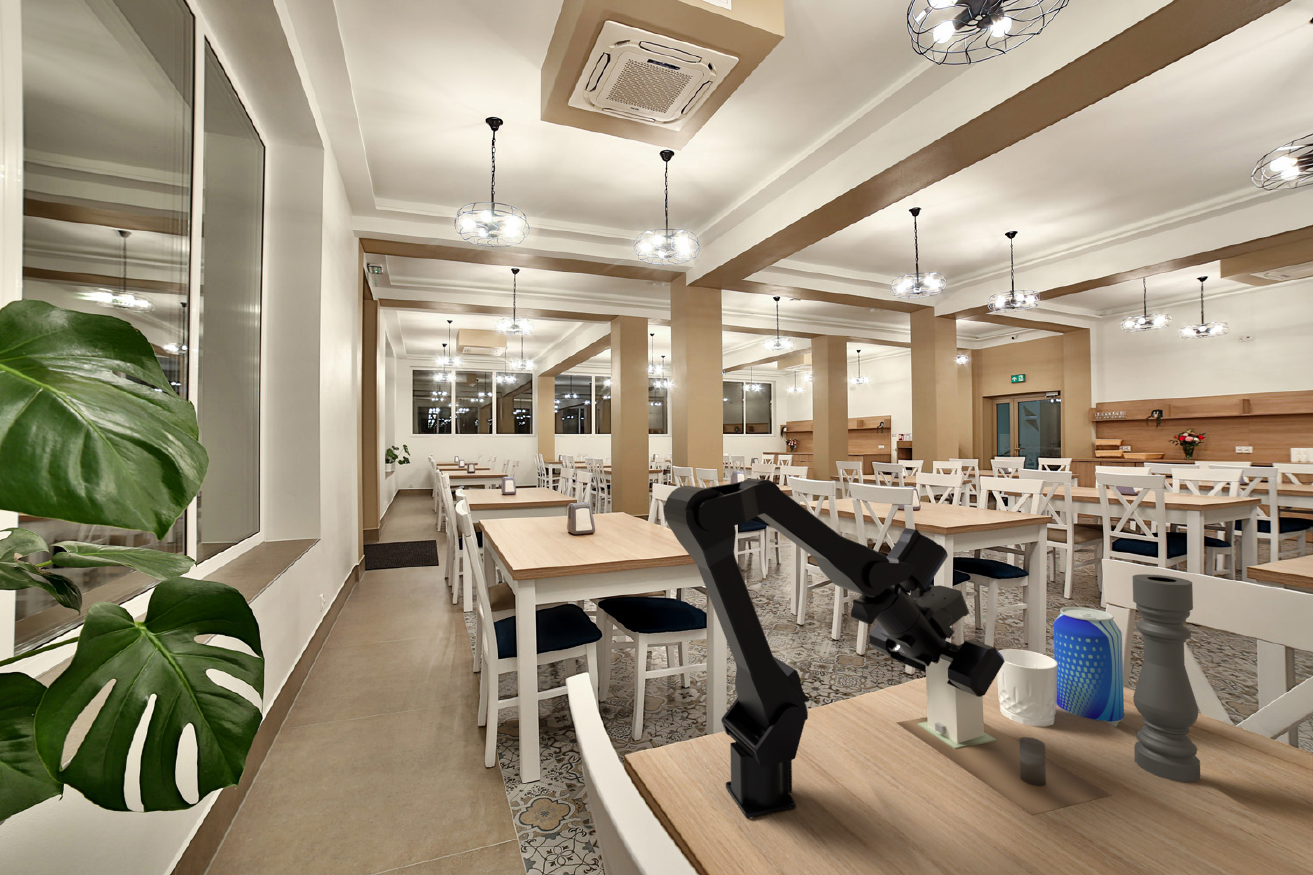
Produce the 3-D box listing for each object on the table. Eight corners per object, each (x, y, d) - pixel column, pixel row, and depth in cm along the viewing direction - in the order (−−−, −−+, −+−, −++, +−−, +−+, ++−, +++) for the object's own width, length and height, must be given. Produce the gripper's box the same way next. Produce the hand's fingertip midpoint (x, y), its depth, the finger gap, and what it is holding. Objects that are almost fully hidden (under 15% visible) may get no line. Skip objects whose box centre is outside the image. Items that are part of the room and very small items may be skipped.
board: (1032, 828, 63) (1030, 773, 63) (896, 732, 84) (895, 691, 84) (1112, 807, 66) (1111, 755, 67) (962, 720, 88) (961, 681, 88)
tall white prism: (954, 744, 78) (951, 663, 78) (924, 727, 82) (921, 650, 82) (987, 734, 80) (984, 655, 80) (956, 718, 85) (953, 643, 85)
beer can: (1043, 711, 90) (1041, 609, 90) (1075, 700, 94) (1073, 602, 94) (1104, 735, 82) (1101, 624, 83) (1136, 723, 86) (1133, 616, 86)
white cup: (998, 731, 84) (996, 662, 84) (995, 708, 91) (993, 645, 91) (1063, 743, 81) (1061, 672, 81) (1055, 719, 88) (1053, 653, 88)
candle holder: (1214, 797, 68) (1209, 586, 68) (1154, 791, 69) (1149, 584, 70) (1178, 768, 74) (1173, 574, 74) (1123, 763, 75) (1119, 573, 76)
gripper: (991, 585, 71) (1054, 661, 75) (882, 558, 89) (938, 621, 93) (945, 658, 68) (1013, 733, 72) (842, 615, 86) (900, 677, 90)
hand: (962, 684), depth 82 cm, fingers open, 6 cm apart
